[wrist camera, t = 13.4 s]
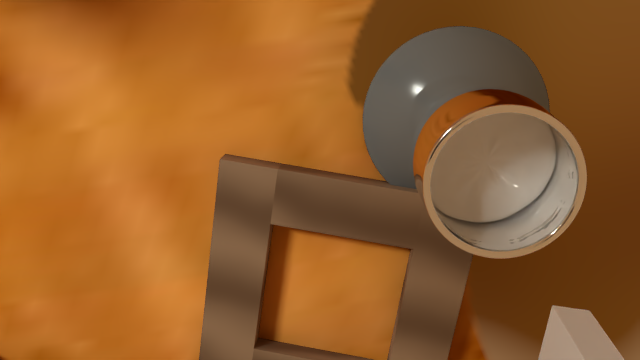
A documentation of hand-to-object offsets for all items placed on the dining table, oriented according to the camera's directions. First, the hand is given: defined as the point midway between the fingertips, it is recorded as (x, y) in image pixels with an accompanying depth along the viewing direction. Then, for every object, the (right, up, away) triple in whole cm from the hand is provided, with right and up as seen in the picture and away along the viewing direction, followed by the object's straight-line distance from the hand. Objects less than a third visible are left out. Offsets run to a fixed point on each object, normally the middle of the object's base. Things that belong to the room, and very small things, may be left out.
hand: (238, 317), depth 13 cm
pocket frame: (+3, -5, +30) cm, 31 cm away
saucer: (+11, +7, +26) cm, 29 cm away
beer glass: (+11, +7, +26) cm, 28 cm away
